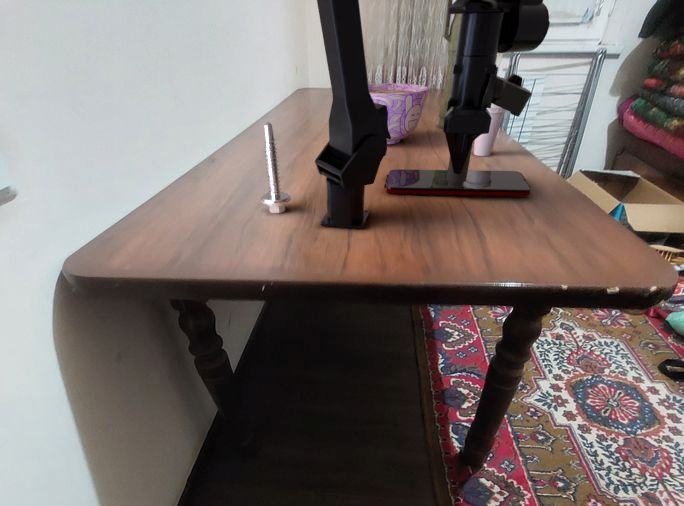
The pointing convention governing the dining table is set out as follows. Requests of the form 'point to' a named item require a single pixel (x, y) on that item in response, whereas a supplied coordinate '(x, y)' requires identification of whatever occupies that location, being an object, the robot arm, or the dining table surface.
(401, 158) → the dining table surface
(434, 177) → the smartphone
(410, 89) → the bowl of food
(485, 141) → the smoothie
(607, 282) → the dining table surface
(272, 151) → the screw
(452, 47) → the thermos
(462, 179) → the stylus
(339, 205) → the robot arm
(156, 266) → the dining table surface
